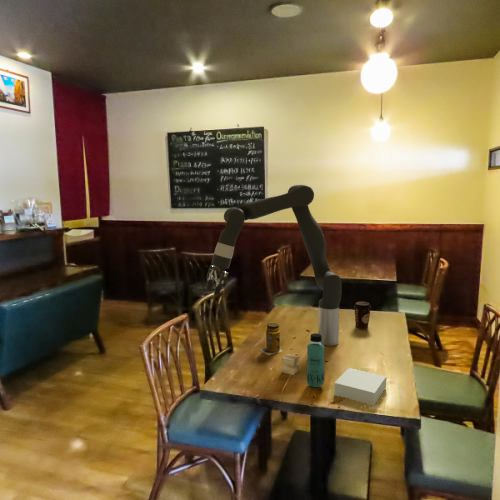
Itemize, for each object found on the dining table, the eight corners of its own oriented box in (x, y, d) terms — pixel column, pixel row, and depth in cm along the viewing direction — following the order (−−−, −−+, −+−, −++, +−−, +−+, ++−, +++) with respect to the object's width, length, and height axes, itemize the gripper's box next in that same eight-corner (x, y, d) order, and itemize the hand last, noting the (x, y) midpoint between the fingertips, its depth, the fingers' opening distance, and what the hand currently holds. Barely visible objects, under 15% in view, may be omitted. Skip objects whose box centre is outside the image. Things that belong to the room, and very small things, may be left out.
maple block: (288, 367, 170) (287, 353, 169) (299, 370, 168) (299, 356, 167) (282, 372, 166) (281, 357, 165) (293, 375, 164) (293, 360, 163)
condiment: (283, 351, 187) (283, 325, 185) (268, 355, 182) (268, 329, 181) (274, 346, 193) (273, 321, 191) (258, 350, 188) (258, 324, 187)
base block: (348, 380, 159) (348, 367, 158) (385, 389, 152) (386, 376, 151) (334, 396, 148) (334, 382, 147) (374, 406, 140) (374, 392, 139)
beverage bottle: (304, 383, 157) (304, 331, 154) (322, 382, 157) (322, 330, 154) (308, 391, 150) (308, 338, 147) (326, 390, 151) (327, 337, 148)
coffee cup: (372, 326, 216) (373, 302, 214) (368, 331, 209) (368, 306, 207) (356, 324, 220) (356, 300, 218) (351, 328, 214) (351, 304, 212)
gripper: (238, 260, 168) (227, 299, 169) (223, 254, 180) (213, 290, 181) (222, 256, 164) (210, 296, 165) (208, 250, 177) (197, 287, 177)
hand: (212, 292), depth 173 cm, fingers open, 8 cm apart
